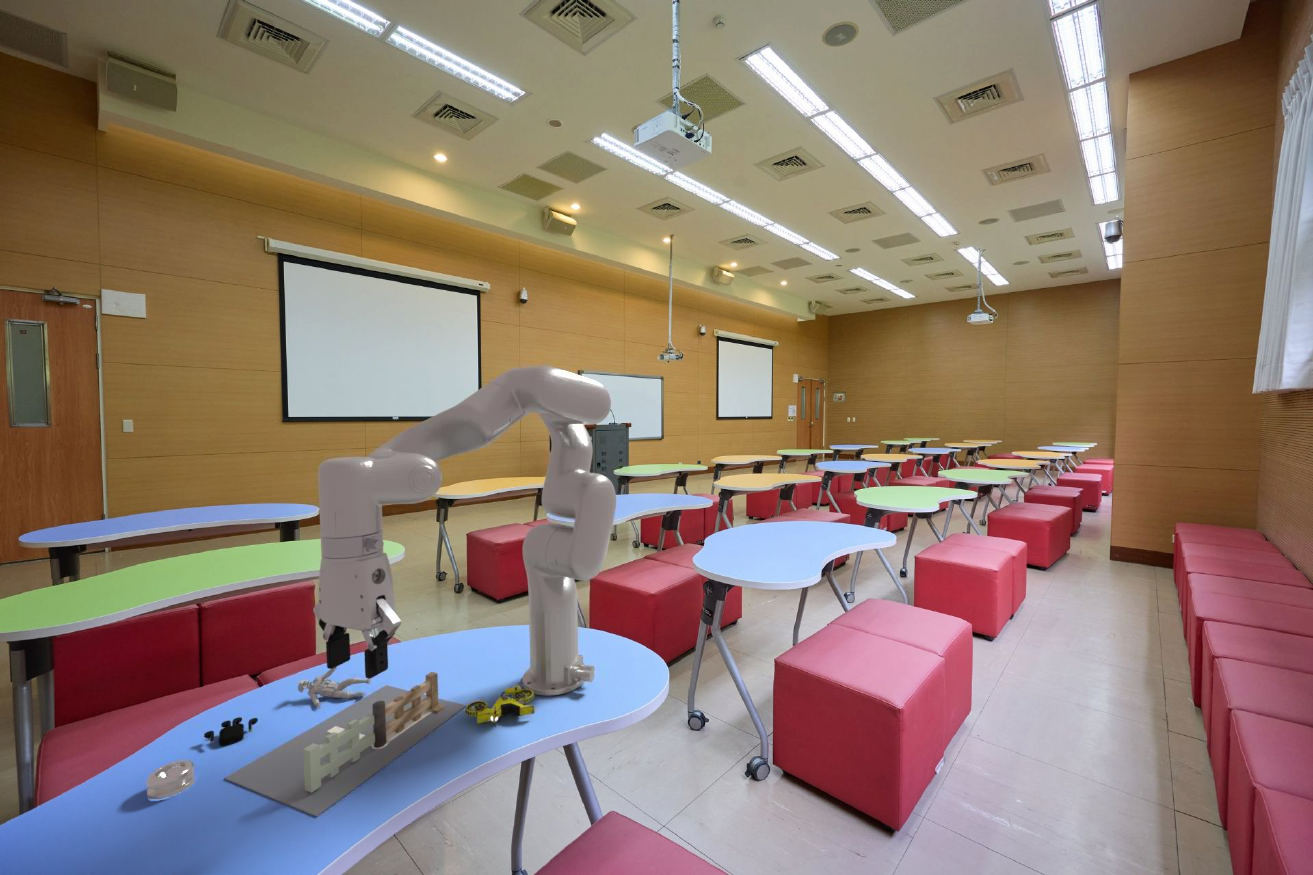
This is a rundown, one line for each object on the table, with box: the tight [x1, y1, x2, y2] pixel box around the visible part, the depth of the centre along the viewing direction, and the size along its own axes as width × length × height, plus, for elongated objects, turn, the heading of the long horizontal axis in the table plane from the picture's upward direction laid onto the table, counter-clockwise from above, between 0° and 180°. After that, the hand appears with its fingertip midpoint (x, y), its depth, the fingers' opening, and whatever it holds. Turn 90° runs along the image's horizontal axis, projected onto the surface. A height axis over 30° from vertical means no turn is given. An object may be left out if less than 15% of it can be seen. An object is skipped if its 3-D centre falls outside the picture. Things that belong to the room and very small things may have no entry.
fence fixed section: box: [372, 671, 444, 748], centre depth 89 cm, size 13×4×7 cm, turn 158°
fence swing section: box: [303, 714, 375, 793], centre depth 78 cm, size 10×1×6 cm, turn 158°
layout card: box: [223, 684, 467, 818], centre depth 86 cm, size 20×28×1 cm
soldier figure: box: [297, 667, 372, 708], centre depth 99 cm, size 8×5×12 cm
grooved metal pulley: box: [146, 759, 196, 799], centre depth 75 cm, size 5×3×5 cm
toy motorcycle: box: [464, 685, 536, 728], centre depth 92 cm, size 12×4×7 cm
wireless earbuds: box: [203, 716, 259, 747], centre depth 87 cm, size 7×2×5 cm
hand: (357, 668), depth 74 cm, fingers open, 6 cm apart
